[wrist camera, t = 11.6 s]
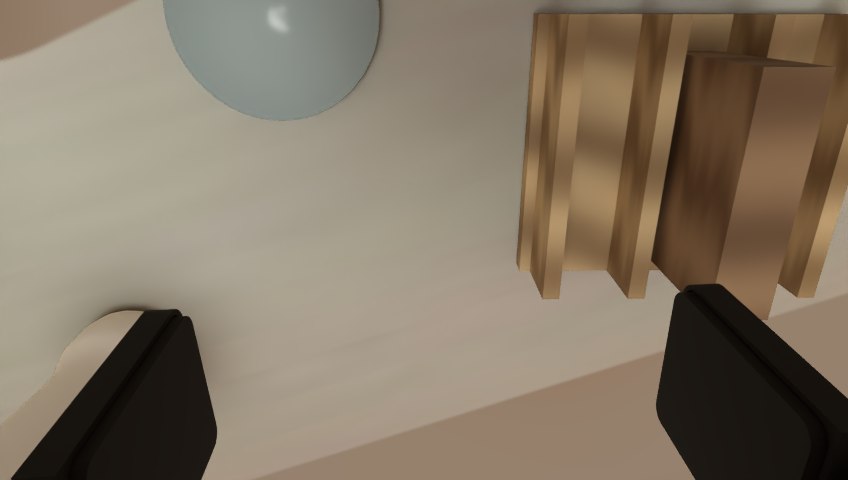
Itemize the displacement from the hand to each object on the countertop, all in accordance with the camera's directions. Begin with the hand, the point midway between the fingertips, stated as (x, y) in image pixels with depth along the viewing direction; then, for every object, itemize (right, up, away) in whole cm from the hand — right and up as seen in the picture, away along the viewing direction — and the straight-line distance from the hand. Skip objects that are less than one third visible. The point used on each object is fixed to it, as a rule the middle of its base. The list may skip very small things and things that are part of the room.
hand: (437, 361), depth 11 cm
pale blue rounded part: (-9, +16, +22) cm, 28 cm away
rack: (+15, +8, +25) cm, 30 cm away
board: (+15, +8, +24) cm, 29 cm away
